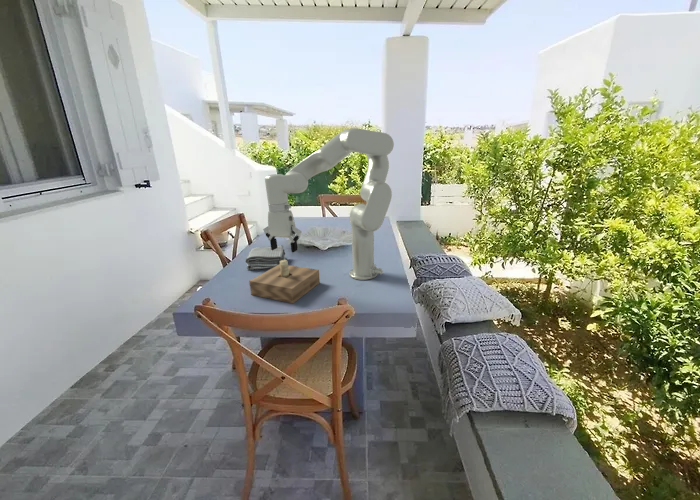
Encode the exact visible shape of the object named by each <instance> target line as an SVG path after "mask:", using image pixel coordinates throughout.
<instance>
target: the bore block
mask: <svg viewBox="0 0 700 500" xmlns="http://www.w3.org/2000/svg"><path fill="white" fill-rule="evenodd" d="M288 269H289V277H287V278H284V277H281V270H280V264H279V265H277V266H275V267H274V268H269V269H268V270H266V271H264V272H263V273H261V274H259V275H257V276H255V277H254V278H251V279H250V280H249V282H248V283H249V288H250V296H255V297H261V298H266V299H271V300H275V301H280V302H284V303H290V304H294V303H296V302H297V301H298V300H300V299H301V298H302V297H304V295H306V294H307V293H309V292H310V291H311V290H313V289H314V288H315V287H316V286H318V285H320V282H321V281H320V280H321V279H320V269H316V268H310V267H309V268H308V267H303V266H296V265H289V264H288Z"/></svg>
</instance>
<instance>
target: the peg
mask: <svg viewBox="0 0 700 500" xmlns="http://www.w3.org/2000/svg"><path fill="white" fill-rule="evenodd" d="M288 262H289V261H288V260H287V259H285V260H281V261H280V270H281V277H284V278H287V277H289V269H288V265H289V263H288Z"/></svg>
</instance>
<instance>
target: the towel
mask: <svg viewBox="0 0 700 500" xmlns="http://www.w3.org/2000/svg"><path fill="white" fill-rule="evenodd" d="M285 255H286V253H285V249H284V245H283V244H280V245H277V248H276V249H274V250H271V245H270V246H269V245H268V246H257V247H253V248H252V249H250V250H249V252H248V255H247V256H246V258H245V263H247V265H246V269H247V270H250V271H251V270H253V271H254V269H255V270H266V269H272V268H274V267H275V266H277V265H279V264H280V261H281V260H286V256H285Z"/></svg>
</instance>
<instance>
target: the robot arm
mask: <svg viewBox="0 0 700 500" xmlns="http://www.w3.org/2000/svg"><path fill="white" fill-rule="evenodd" d="M394 145H395V143H394V139H393V137H392V136H391V135H390V134H388V133H387V132H381V131H375V130H368V129H364V128H358V127H356V128H355V127H354V128H353V127H351V128H346V129H343V130H342V131H340V132H339V133H337V134H336V135H335V136H333V137H332V138H331V139H330V140H329V141H327V143H325V144H324V145H322V146H321V147H319V149H317V150H316V151H314V152H312V153H311V154H310V155H309V156H307V157H306V158H304V159H302V160H301V161H300V162H299V163H296V164H295V165H294V166H293V167H292V168H291V169H290V170H289V171H287V172H286V173H285V174H281V173H276V174H268V175H266V176H265V177H264V184H265V191H266V197H267V203H268V213H267V225H268V226H266V227H264V228H263V229H262V230H263V233H264V234H265V237H267V239H268V241H269V243H270V246H271V250H274V249H276V248H277V246H278V242H277V238H284V239H285V238H288V239H289V241H291V242H290V251H291V253H295V252H296V251H298V241H299V239H300V238H301V235H302V230H301V229H298V228H297V227H296V223H295V222H296V221H295V218H294V215H293V212H292V210H291V208H292V205H291V204H289V197H288V194H300V193H301V194H302V193H304V192H305V191H306V190H307V189H308V186H309V180H310V179H311V178H312V177H315V176H316V175H318V174H320V173H323V172H327V171H329V170H331V169H333V168H334V167H335V166H336V165H338V164H339V163H340V162H341V161H342V160H344V159H345V158H346V157H348V155H350V154H351V153H359V154H365V155H366V157H367V160H368V163H367V164H368V166H367V169H366V173H365V176H364V179H363V183H362V185H361V188H360V191H359V193H360V194H359V195H360V198H361V199H362V200H363V201H365V202H366V204H364V203H359V204H356V205H354V206H353V207H352V208H351V210H350V213H349V221H350V229H351V249H352V251H351V252H352V253H351V254H352V255H351V257H352V269H351V270H350V271H349V273H348V274H349V277H350V278H351V279H355V280H360V281H365V280H366V281H368V280H372V279H375V278H376V277H377V276H378V275H383V273H384V270H383V268H379V267H377V264H375V255H374V254H375V246H374V245H375V234H374V232H376V231H377V230H379V229H380V228H381V227H382V225H383V223H384V221H385V218H386V215H387V212H388V209H389V207H390V204H391V201H392V195H393V194H392V193H393V192H392V188H391V186H390V185H389V184H388V183H387V182H386V180H387V176H388V174H389V168H390V166H389V165H390V162H389V158H388V155H389V154H391V152H392V151H393V149H394Z"/></svg>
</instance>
